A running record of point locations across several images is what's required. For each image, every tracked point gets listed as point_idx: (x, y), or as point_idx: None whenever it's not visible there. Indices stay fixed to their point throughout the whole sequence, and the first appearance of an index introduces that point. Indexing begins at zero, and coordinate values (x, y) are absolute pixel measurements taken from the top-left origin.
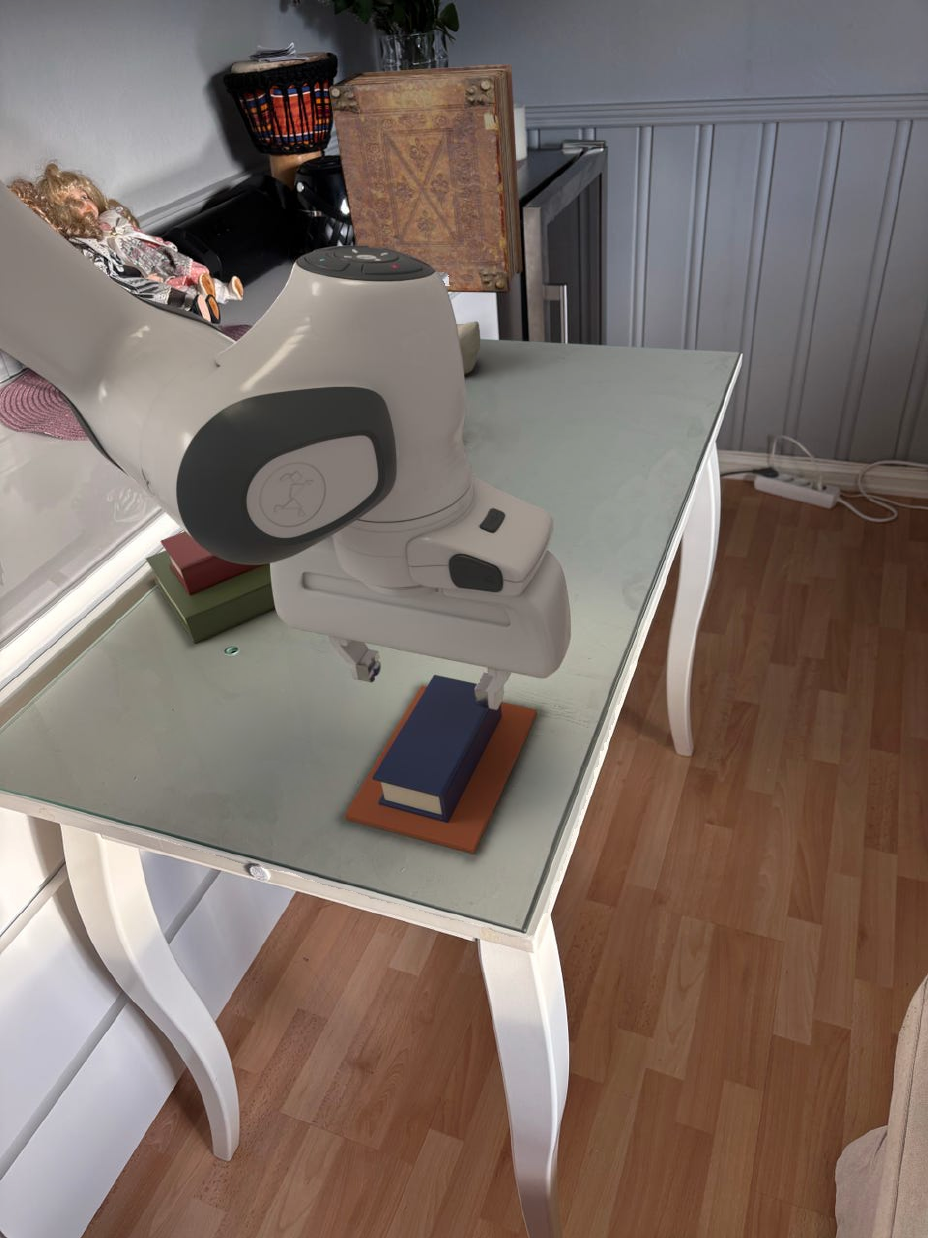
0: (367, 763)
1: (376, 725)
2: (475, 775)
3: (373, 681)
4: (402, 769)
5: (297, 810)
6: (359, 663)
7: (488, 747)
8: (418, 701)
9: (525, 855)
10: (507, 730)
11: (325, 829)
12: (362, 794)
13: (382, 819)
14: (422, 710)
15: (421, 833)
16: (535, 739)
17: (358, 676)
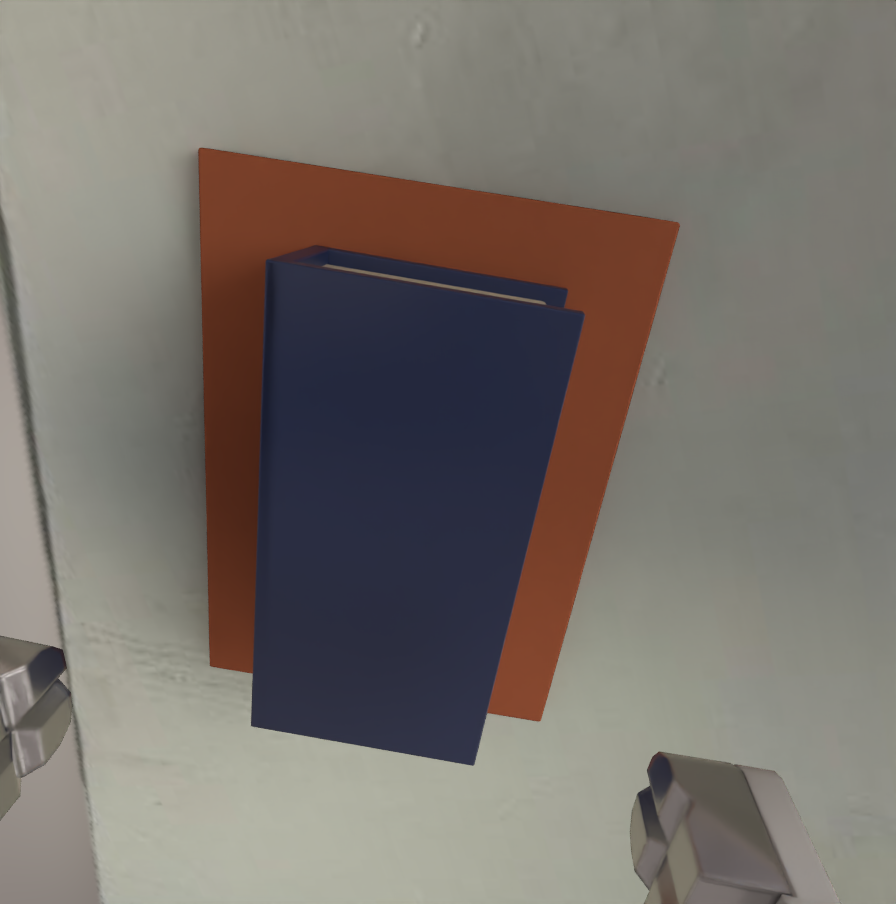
0: (645, 456)
1: (645, 591)
2: None
3: (652, 758)
4: (468, 370)
5: (861, 235)
6: (764, 900)
7: None
8: (496, 668)
9: (59, 175)
10: None
11: (741, 167)
12: (633, 322)
13: (537, 224)
14: (471, 634)
15: (388, 188)
16: (191, 579)
17: (748, 792)
